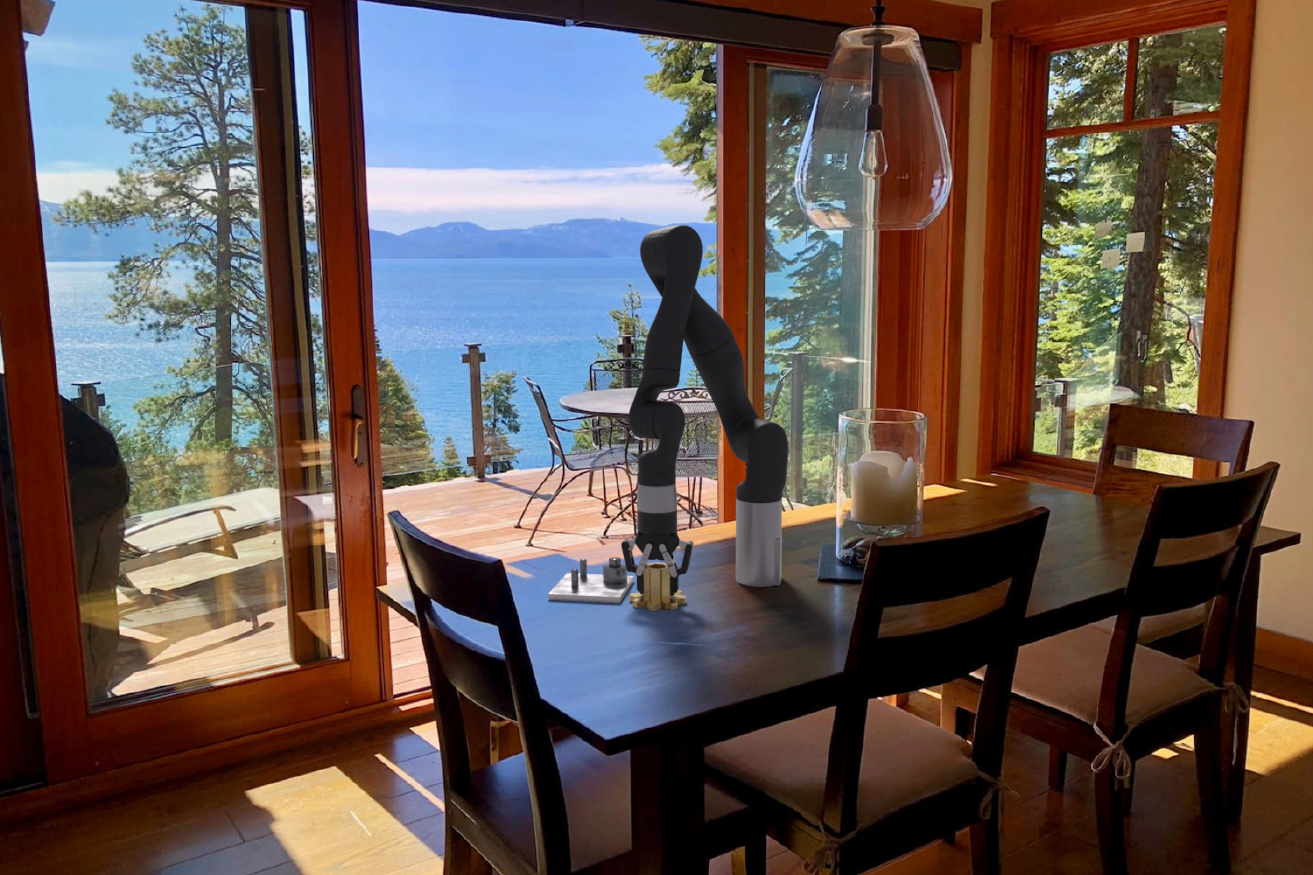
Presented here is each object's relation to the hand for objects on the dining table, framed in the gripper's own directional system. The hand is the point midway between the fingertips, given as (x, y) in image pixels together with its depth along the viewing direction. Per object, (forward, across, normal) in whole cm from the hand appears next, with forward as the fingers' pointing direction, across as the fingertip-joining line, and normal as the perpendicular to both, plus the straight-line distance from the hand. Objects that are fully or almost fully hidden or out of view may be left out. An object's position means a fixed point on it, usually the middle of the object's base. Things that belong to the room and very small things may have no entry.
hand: (657, 593), depth 184 cm
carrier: (+2, +14, -5) cm, 15 cm away
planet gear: (+2, 0, 0) cm, 2 cm away
